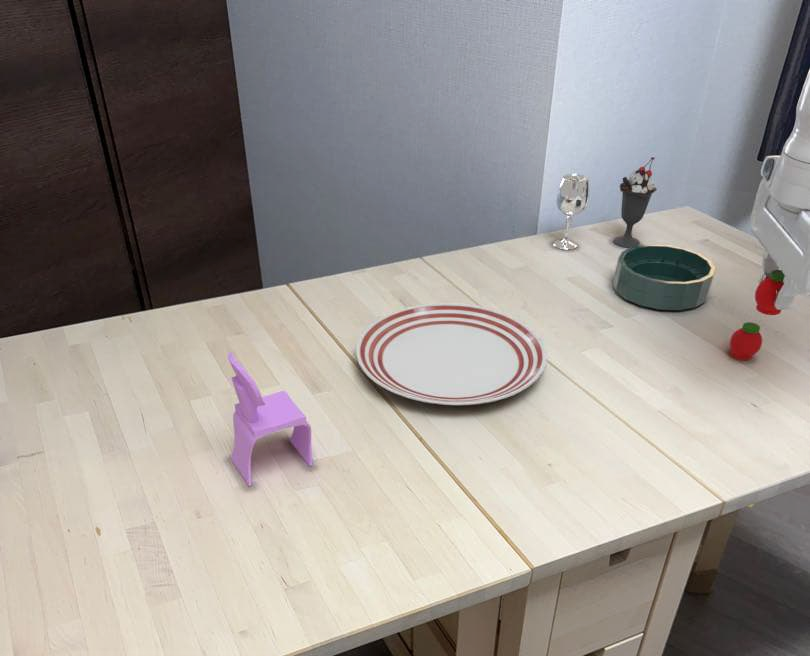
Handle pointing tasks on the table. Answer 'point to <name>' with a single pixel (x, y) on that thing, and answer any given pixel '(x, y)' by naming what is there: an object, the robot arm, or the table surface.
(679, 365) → the table surface
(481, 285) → the table surface
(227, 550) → the table surface
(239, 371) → the toy chair
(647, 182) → the sundae
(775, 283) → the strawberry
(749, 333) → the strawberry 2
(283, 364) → the table surface
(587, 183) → the wineglass
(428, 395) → the dinner plate
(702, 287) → the bowl
